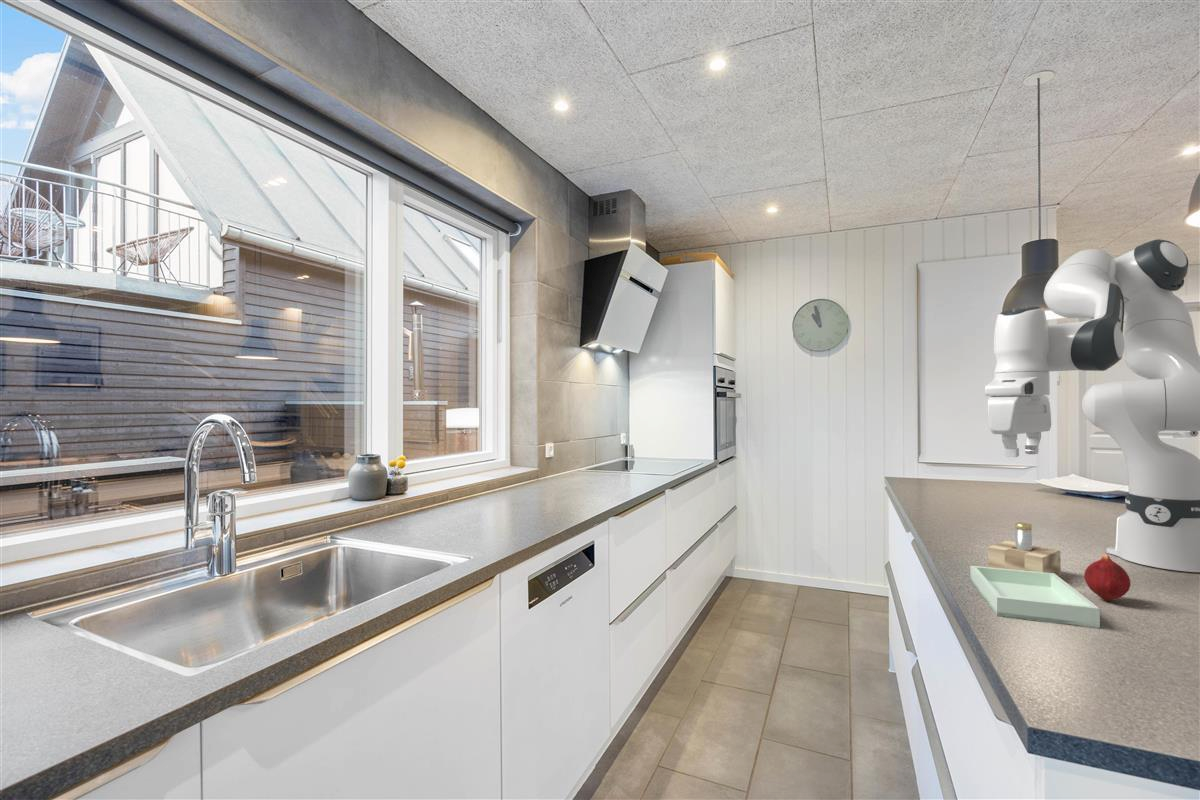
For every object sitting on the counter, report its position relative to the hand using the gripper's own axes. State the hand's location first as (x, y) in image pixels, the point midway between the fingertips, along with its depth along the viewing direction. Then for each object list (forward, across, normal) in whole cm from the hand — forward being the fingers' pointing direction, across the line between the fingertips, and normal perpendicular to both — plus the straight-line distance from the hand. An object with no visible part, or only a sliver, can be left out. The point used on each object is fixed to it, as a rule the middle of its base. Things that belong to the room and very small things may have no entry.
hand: (1022, 455), depth 108 cm
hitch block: (+24, 0, 0) cm, 24 cm away
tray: (+24, +17, +6) cm, 30 cm away
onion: (+24, +6, +14) cm, 28 cm away
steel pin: (+24, 0, 0) cm, 24 cm away
